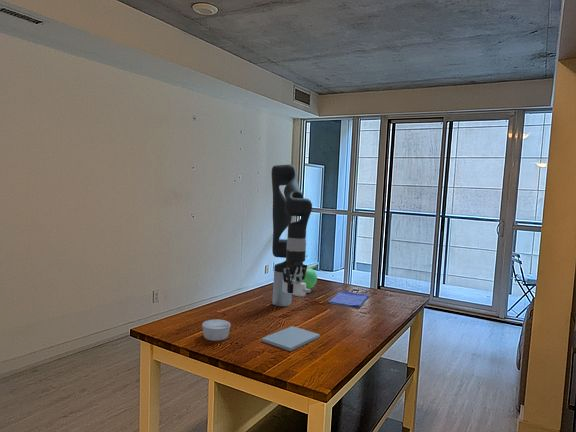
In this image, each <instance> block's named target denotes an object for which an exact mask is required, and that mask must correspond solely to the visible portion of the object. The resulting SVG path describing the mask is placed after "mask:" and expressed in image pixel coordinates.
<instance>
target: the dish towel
mask: <svg viewBox="0 0 576 432" xmlns="http://www.w3.org/2000/svg"><path fill="white" fill-rule="evenodd" d="M368 299H369V294H368V293H356V292H350V291H344V290H343V291H339V292H338V293H337V294H336V295H335V296H333V297H332V298H331V299H330V300H328V303H329V304H330V305H335V306H343V307H349V308H356V309H360V308H361V307H362V306H363V305H364V304H365V303H366V302H367V301H368Z"/></svg>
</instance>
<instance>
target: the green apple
mask: <svg viewBox="0 0 576 432" xmlns="http://www.w3.org/2000/svg"><path fill="white" fill-rule="evenodd" d="M316 267H317V265H316V264H313V265H310V266H308V265H307V270H306V275H305V279H304V280H302V282H304V283H306V288H307V289H312V288H314V287H315V286H316V284H317V282H318V276H317V273H316V271H315V270H314V269H315V268H316ZM292 276H293V275H292ZM302 276H303V273H302ZM294 280H295V279H294ZM295 281H296V280H295Z"/></svg>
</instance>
